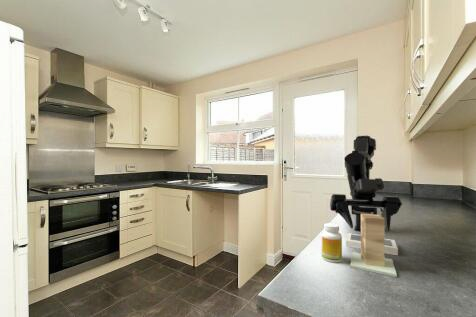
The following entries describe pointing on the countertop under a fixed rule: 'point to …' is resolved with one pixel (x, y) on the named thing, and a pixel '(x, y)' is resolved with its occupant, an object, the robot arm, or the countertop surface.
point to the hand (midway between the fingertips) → (369, 228)
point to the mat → (359, 264)
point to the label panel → (355, 242)
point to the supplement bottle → (331, 243)
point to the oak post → (373, 239)
